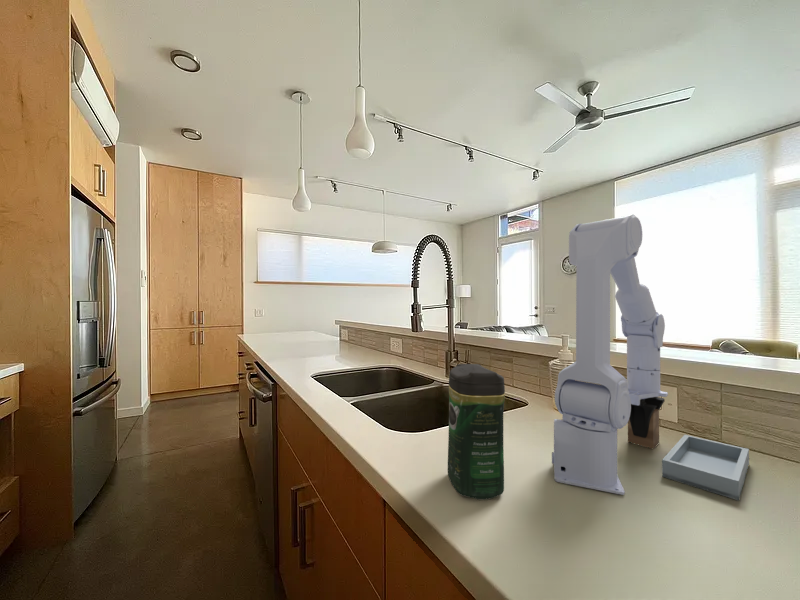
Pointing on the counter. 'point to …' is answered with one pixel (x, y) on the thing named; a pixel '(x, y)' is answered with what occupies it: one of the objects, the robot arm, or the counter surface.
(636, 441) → the walnut block
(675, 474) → the tray
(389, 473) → the counter surface
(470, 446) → the coffee jar
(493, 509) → the counter surface
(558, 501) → the counter surface
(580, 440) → the robot arm
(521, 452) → the counter surface
